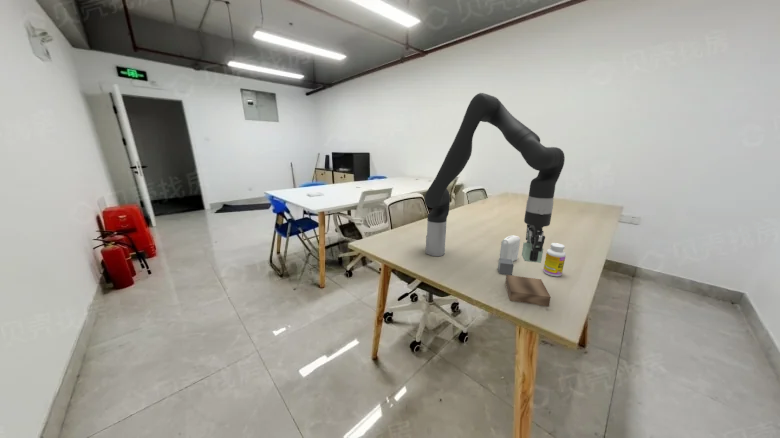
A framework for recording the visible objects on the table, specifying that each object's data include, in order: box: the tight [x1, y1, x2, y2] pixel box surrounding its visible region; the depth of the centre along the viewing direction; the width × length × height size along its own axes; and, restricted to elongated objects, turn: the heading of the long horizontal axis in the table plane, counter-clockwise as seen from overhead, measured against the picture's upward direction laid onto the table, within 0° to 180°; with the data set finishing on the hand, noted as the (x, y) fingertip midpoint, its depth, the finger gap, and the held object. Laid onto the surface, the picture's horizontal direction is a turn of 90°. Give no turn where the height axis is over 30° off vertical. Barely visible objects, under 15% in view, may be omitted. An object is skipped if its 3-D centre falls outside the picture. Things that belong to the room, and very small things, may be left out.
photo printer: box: [499, 234, 521, 263], centre depth 115 cm, size 10×4×12 cm, turn 123°
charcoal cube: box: [497, 257, 514, 276], centre depth 106 cm, size 5×5×5 cm
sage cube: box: [521, 241, 544, 264], centre depth 86 cm, size 5×5×5 cm
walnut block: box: [505, 274, 551, 307], centre depth 90 cm, size 12×12×4 cm
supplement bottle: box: [542, 242, 567, 277], centre depth 103 cm, size 7×7×13 cm
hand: (531, 257), depth 87 cm, fingers closed on sage cube, 5 cm apart
